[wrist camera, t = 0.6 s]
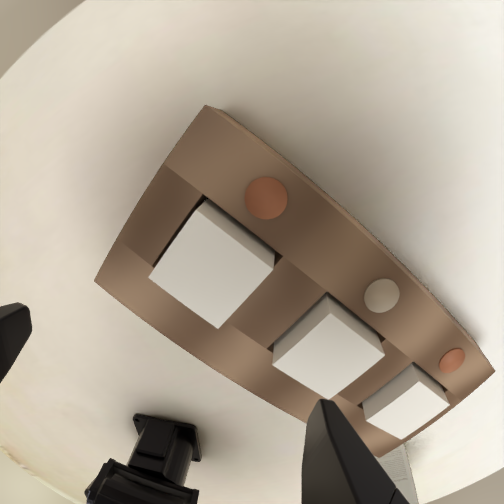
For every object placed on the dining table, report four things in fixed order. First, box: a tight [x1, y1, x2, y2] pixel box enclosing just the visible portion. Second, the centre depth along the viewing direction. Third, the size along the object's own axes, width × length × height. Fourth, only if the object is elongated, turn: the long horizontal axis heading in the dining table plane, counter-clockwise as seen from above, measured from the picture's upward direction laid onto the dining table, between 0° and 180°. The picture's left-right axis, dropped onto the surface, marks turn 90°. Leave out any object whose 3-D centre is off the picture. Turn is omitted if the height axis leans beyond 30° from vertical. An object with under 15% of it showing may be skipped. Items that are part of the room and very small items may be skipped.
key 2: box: [148, 198, 275, 329], centre depth 17 cm, size 4×4×3 cm
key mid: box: [272, 292, 385, 400], centre depth 18 cm, size 4×4×3 cm
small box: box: [374, 443, 419, 504], centre depth 23 cm, size 8×6×10 cm
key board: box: [94, 105, 495, 458], centre depth 20 cm, size 26×12×4 cm, turn 52°
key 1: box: [362, 361, 450, 440], centre depth 19 cm, size 4×4×3 cm
